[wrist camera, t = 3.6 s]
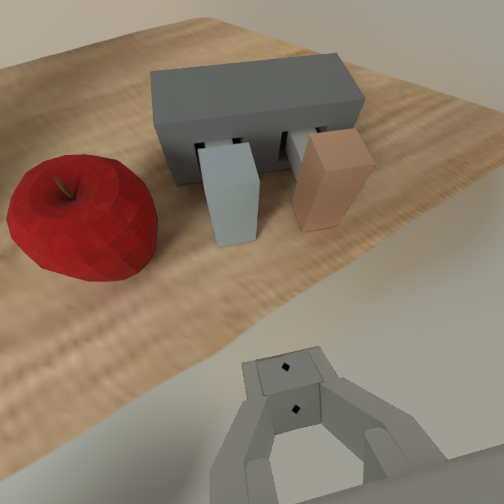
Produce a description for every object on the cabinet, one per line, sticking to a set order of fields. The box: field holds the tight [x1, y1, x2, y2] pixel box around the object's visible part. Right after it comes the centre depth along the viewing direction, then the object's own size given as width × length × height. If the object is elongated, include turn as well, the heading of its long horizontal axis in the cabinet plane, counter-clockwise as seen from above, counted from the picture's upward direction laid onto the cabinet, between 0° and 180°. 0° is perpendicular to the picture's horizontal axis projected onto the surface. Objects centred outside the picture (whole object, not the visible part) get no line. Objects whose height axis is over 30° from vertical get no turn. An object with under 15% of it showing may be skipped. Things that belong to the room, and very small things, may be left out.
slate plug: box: [198, 139, 260, 247], centre depth 24 cm, size 4×10×9 cm, turn 12°
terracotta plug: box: [285, 128, 376, 232], centre depth 25 cm, size 4×10×9 cm, turn 12°
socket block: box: [150, 53, 365, 186], centre depth 29 cm, size 20×8×8 cm, turn 102°
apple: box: [6, 154, 158, 282], centre depth 21 cm, size 10×10×11 cm
